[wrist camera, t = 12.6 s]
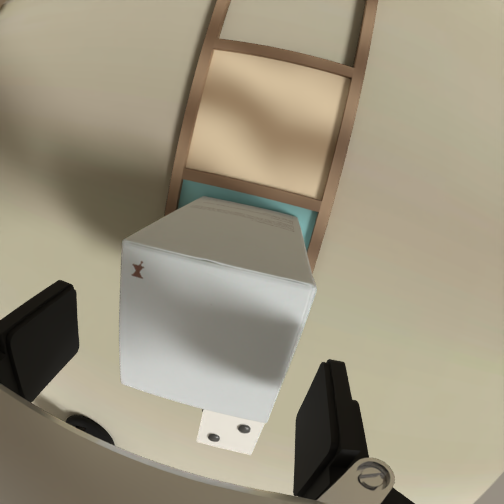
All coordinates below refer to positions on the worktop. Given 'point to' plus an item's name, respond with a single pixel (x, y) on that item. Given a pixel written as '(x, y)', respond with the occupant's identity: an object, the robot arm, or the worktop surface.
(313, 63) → the board
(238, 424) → the die
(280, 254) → the supplement box
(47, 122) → the worktop surface
